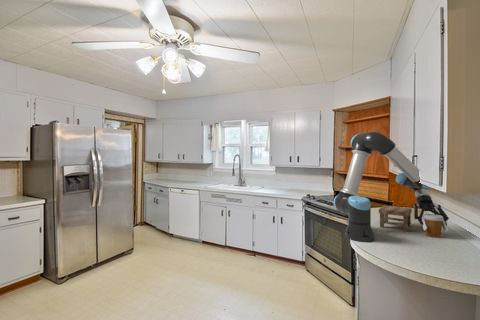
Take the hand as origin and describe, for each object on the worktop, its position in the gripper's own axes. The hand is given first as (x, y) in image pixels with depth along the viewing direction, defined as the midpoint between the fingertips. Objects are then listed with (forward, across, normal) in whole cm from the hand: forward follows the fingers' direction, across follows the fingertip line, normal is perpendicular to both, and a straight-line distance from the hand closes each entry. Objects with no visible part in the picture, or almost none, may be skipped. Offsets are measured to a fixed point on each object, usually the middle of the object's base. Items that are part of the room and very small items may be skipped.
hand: (435, 230), depth 136 cm
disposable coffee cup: (+1, 0, -6) cm, 6 cm away
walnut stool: (-10, +15, -16) cm, 24 cm away
